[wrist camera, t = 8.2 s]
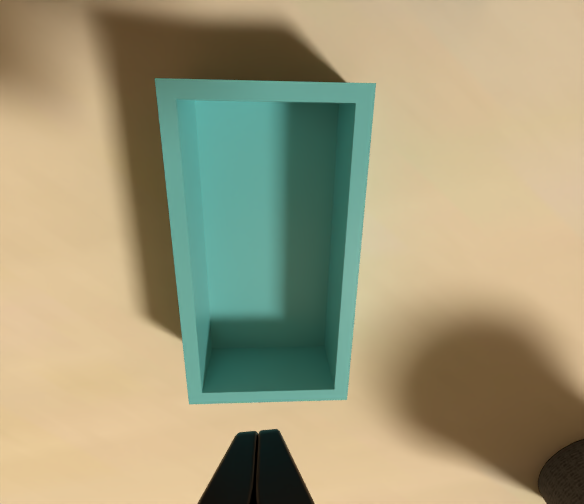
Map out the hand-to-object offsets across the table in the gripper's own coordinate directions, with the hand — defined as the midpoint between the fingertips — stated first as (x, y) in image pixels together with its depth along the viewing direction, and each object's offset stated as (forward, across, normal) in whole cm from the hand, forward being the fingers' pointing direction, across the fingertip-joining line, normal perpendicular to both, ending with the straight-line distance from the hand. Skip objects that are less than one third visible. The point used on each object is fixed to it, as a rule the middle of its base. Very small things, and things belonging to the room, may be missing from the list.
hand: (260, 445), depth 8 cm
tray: (+11, 0, -1) cm, 11 cm away
